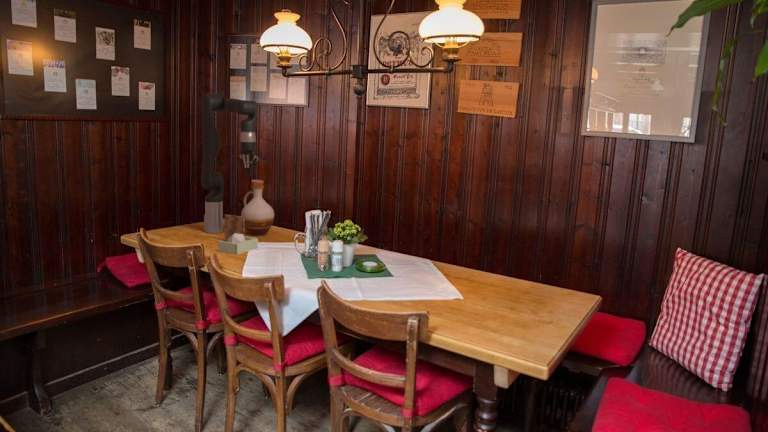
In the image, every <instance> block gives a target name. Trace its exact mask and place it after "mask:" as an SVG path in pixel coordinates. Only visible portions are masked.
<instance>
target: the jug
mask: <svg viewBox="0 0 768 432" xmlns="http://www.w3.org/2000/svg"><path fill="white" fill-rule="evenodd" d="M250 181H251V189H252V190H249V191H247V193H246V194H245V195H244V196H243V197H244V198H243V208H242V210H241V214H240V216H242V217H245V231H247V232H248V234H250V236H252V237H253V236H255V237H261V236H265V235H266V234H267V233H268V232H269V231H270V229H271V228H272V225H273V223H274V220H275V211H274V209H273V207H272V206H271V205H270V204H269V203H267V201H266V200H265V199H264V198H263V190H264V183H265V180H262V179H252V180H250ZM250 194H252V195H253V196H252V199H251V200H249V202H248V203H247V199H248V198H249V196H250Z"/></svg>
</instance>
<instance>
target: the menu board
mask: <svg viewBox="0 0 768 432" xmlns="http://www.w3.org/2000/svg"><path fill="white" fill-rule="evenodd" d="M245 231H246V228H245V217H242V216H241V215H232V214H226V213H225V214H224V239H223V240H222V241H225V242H228V241H227V240H228V239H229V238H230V237H231V236H232V235H233V234H234V233H238V234H243V235H244V236H246V234H245V233H246V232H245Z"/></svg>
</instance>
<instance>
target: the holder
mask: <svg viewBox="0 0 768 432" xmlns="http://www.w3.org/2000/svg"><path fill="white" fill-rule="evenodd" d="M244 238H245V240H246V241H243V242H240V243H231V242H225V241H223V240H218V241H217V243H218V244H217V249H218V252H219V253H226V254H227V253H228V254H233V255H240V254H244V253H246V252H249V251H253V250H255V248H256V249H258V248H259V247H258V242H259V241H258V240H259V239H258V237H253V236H251V237H250V236H246V235H245V236H244ZM252 249H253V250H252Z"/></svg>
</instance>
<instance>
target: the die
mask: <svg viewBox="0 0 768 432" xmlns="http://www.w3.org/2000/svg"><path fill="white" fill-rule="evenodd" d="M227 241H228V242H231V243H240V242H243V241H246V240H245V238H244V235H243V234H238V233H234V234H233V235H232V236H231V237H230V238H229V239H228V240H227Z"/></svg>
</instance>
